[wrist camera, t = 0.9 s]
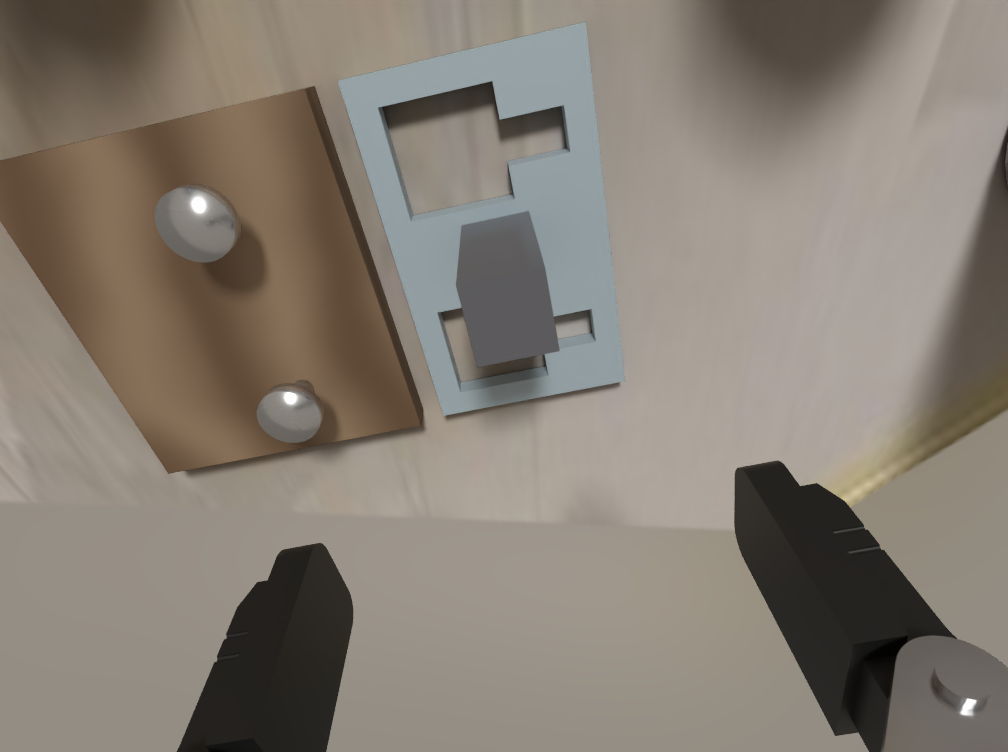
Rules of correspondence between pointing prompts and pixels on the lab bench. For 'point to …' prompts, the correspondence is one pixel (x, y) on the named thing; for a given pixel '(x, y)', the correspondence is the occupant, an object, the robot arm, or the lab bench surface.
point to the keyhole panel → (532, 187)
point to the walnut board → (218, 280)
